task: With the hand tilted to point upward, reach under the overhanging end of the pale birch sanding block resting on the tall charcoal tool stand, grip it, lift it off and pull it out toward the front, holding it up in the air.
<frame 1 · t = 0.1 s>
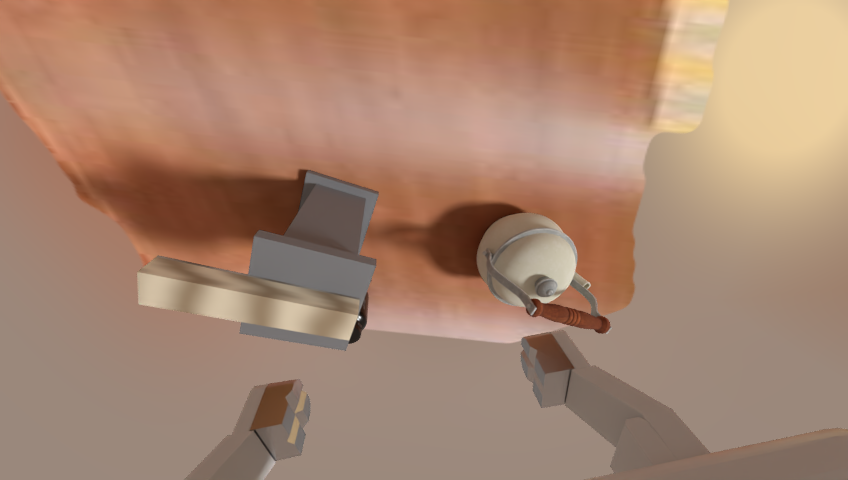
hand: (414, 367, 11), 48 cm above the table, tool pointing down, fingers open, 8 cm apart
tool stand: (335, 214, 58), on the table
kettle: (516, 244, 67), on the table
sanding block: (265, 292, 34), point 26 cm above the table, touching tool stand
supplement bottle: (353, 294, 68), on the table
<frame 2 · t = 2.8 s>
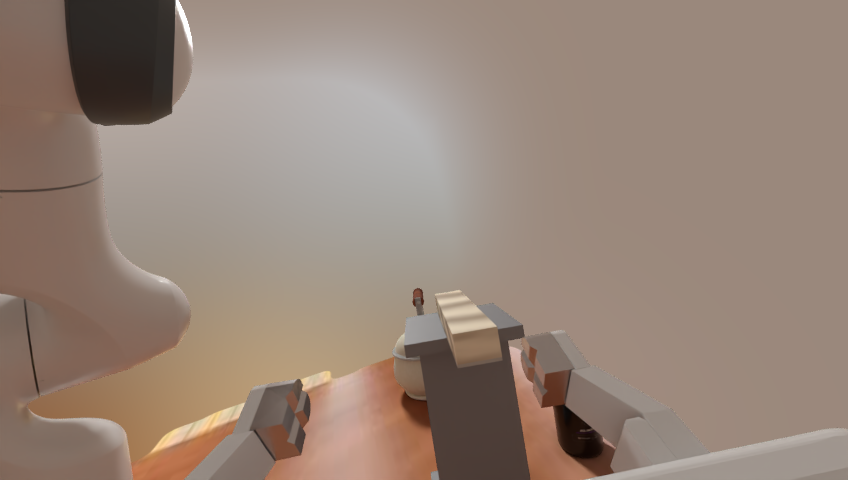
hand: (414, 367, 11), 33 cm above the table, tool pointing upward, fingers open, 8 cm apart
kettle: (432, 384, 80), on the table
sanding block: (460, 330, 37), point 26 cm above the table, touching tool stand
supplement bottle: (581, 445, 50), on the table
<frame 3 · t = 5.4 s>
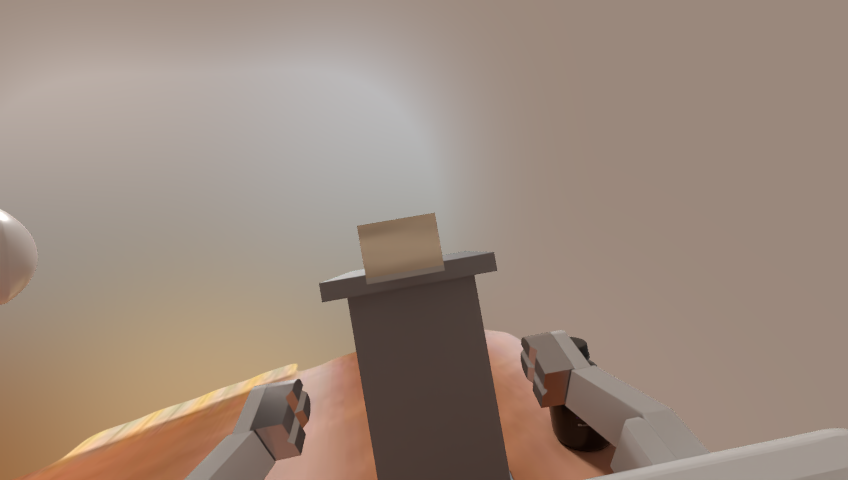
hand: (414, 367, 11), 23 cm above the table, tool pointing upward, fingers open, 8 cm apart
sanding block: (407, 266, 26), point 26 cm above the table, touching tool stand
supplement bottle: (582, 436, 39), on the table
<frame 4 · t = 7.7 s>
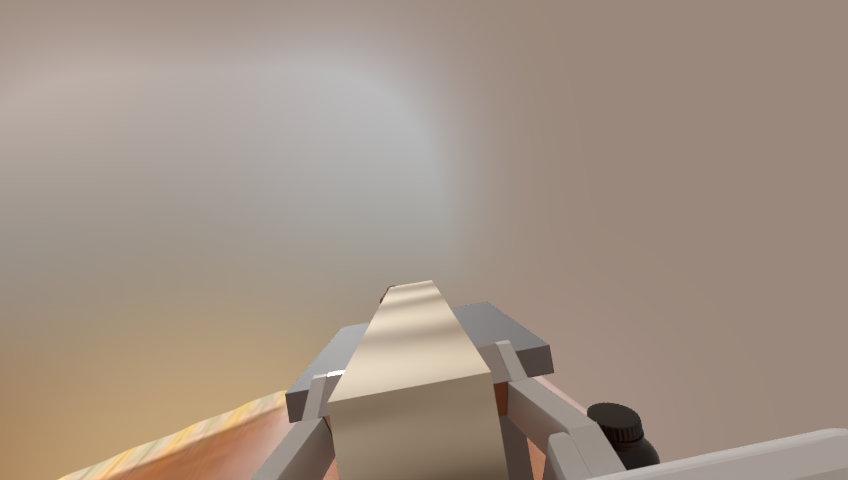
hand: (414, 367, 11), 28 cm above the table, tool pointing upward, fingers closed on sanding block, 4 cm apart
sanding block: (418, 355, 18), point 26 cm above the table, touching gripper, tool stand
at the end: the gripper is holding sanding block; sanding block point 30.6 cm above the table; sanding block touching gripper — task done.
